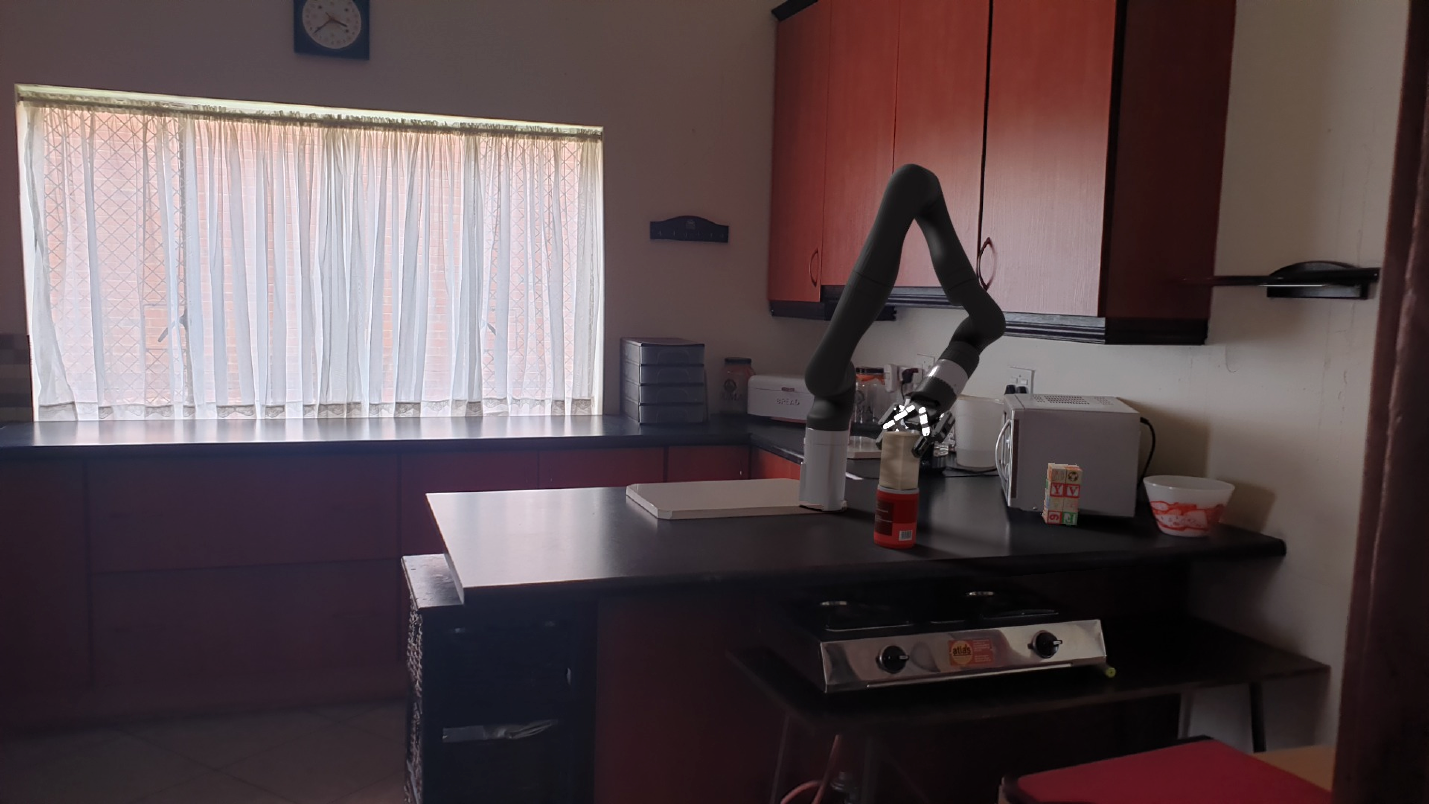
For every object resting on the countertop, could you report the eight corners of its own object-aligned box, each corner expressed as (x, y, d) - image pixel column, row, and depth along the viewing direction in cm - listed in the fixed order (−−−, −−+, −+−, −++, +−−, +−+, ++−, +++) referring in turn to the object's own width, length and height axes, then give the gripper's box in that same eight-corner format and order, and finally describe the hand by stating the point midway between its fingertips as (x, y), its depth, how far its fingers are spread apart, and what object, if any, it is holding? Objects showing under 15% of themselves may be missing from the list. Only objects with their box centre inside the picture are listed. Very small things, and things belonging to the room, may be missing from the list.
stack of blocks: (1033, 503, 233) (1037, 452, 231) (1060, 506, 232) (1065, 454, 230) (1046, 524, 212) (1051, 467, 210) (1077, 526, 211) (1082, 469, 209)
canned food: (919, 542, 189) (923, 485, 187) (908, 551, 181) (913, 492, 180) (880, 536, 192) (884, 480, 191) (868, 545, 185) (872, 486, 183)
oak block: (878, 484, 186) (883, 432, 185) (896, 482, 189) (900, 430, 188) (899, 490, 182) (904, 436, 181) (917, 487, 185) (921, 434, 184)
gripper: (902, 371, 193) (858, 432, 187) (963, 378, 182) (918, 443, 176) (918, 397, 197) (875, 458, 191) (978, 406, 186) (935, 471, 180)
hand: (896, 451), depth 184 cm, fingers open, 8 cm apart
